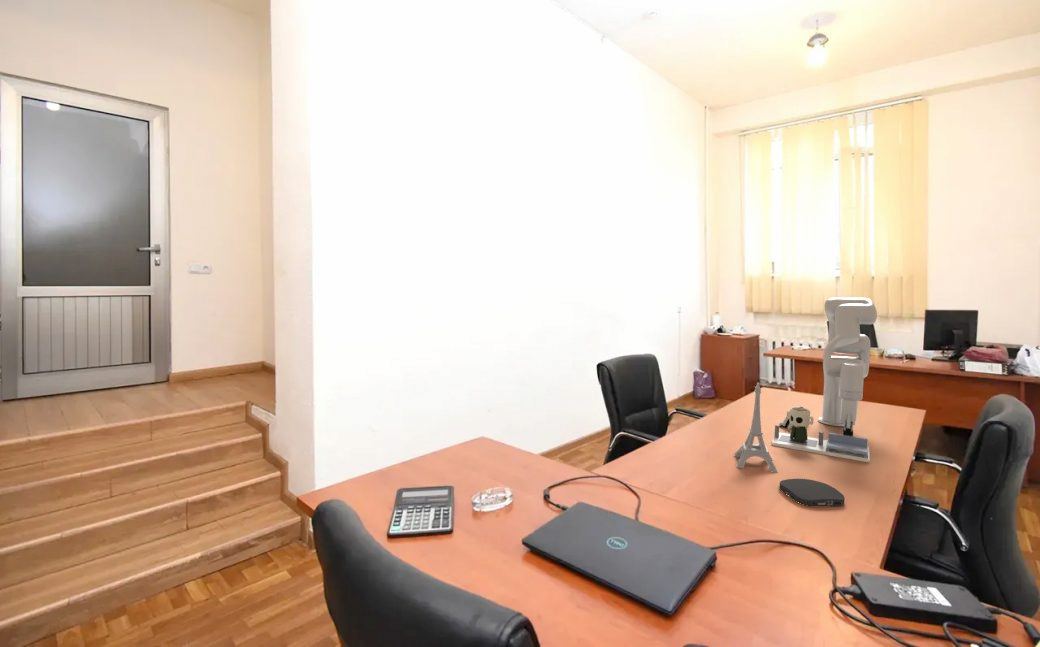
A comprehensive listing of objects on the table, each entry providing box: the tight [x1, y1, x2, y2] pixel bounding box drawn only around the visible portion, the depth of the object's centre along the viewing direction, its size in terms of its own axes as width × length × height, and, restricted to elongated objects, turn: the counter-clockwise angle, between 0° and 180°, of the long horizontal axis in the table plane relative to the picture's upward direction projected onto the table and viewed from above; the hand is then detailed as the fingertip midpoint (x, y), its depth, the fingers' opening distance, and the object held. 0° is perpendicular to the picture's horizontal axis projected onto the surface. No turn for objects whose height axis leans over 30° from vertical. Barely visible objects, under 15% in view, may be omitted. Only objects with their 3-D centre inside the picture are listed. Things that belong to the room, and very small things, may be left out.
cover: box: [827, 432, 869, 455], centre depth 181 cm, size 8×12×4 cm, turn 54°
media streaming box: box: [778, 478, 845, 507], centre depth 147 cm, size 15×15×3 cm
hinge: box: [778, 405, 807, 430], centre depth 220 cm, size 17×5×10 cm, turn 130°
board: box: [771, 424, 870, 463], centre depth 190 cm, size 16×32×6 cm, turn 54°
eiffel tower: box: [733, 382, 779, 473], centre depth 172 cm, size 13×13×30 cm
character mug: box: [786, 406, 815, 442], centre depth 194 cm, size 11×7×13 cm, turn 28°
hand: (847, 440), depth 186 cm, fingers closed
